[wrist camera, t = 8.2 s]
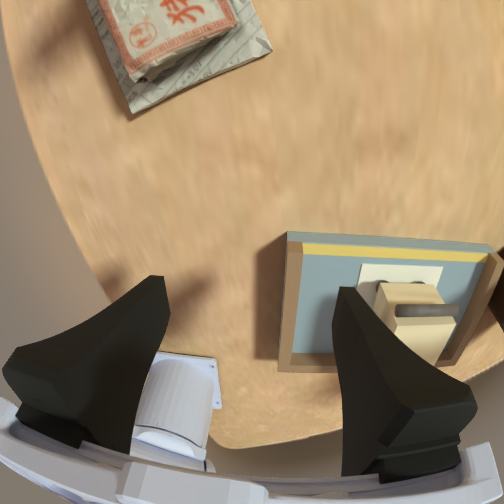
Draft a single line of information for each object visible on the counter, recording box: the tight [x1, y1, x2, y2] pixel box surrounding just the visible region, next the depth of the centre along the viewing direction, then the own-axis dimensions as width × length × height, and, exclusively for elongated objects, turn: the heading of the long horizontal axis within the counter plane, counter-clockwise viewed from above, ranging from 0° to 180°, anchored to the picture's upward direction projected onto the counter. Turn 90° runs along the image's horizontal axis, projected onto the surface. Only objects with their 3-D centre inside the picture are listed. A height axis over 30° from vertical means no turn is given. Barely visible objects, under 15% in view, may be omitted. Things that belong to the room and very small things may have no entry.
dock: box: [278, 231, 504, 373], centre depth 23 cm, size 12×18×3 cm, turn 90°
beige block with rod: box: [372, 280, 459, 366], centre depth 20 cm, size 8×4×6 cm, turn 179°
